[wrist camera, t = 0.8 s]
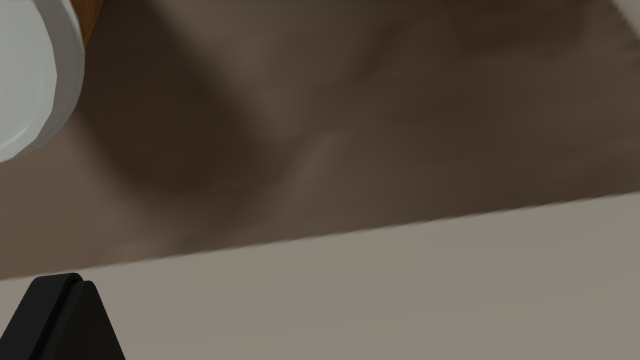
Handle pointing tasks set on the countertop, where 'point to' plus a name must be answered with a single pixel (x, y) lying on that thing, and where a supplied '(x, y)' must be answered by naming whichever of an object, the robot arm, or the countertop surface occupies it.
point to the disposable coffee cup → (40, 68)
